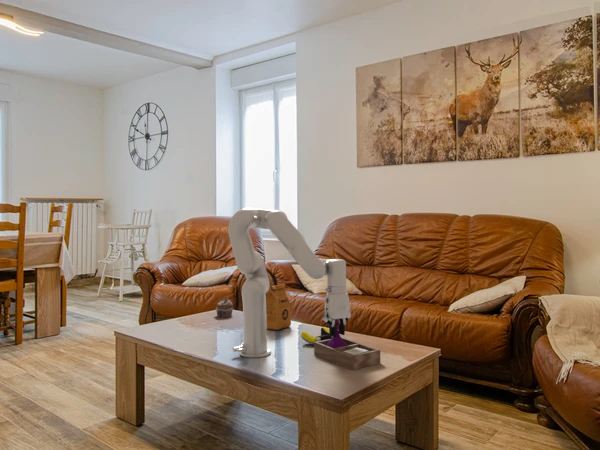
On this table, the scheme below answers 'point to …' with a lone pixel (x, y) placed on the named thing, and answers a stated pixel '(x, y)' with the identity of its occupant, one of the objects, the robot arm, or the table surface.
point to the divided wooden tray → (344, 358)
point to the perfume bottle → (336, 338)
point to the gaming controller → (323, 336)
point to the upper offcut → (355, 351)
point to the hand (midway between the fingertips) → (337, 334)
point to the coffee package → (278, 308)
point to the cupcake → (224, 308)
